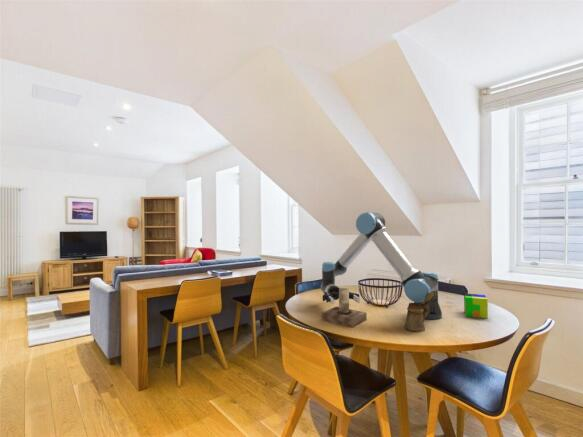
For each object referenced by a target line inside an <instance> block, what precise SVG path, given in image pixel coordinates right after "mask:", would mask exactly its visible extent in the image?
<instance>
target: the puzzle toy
mask: <svg viewBox="0 0 583 437" xmlns="http://www.w3.org/2000/svg"><path fill="white" fill-rule="evenodd" d="M463 296H464V297H463V301H464V305H463V307H464V308H463V309H464V311H463V312H464V314H465V316H466V317H470V316H471V317H472V318H480V317H481V318H482V319H488V318H489V317H488V316H489V314H488V312H489V310H488V308H489V307H488V305H489V304H488V297H487V296H486V295H485V294H475V293H463ZM481 318H480V319H481Z"/></svg>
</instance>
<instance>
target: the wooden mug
mask: <svg viewBox="0 0 583 437" xmlns="http://www.w3.org/2000/svg"><path fill="white" fill-rule="evenodd" d="M435 295H436V292H435V291H432V292H430V293H428V294H427V295H426V297H425V299H424V303H421V304H418V303H414V302H409V303H408V306H407V308H406V309H407V313H406V318H405V322H404V328H405V329H406V330H408V331H412V332H420V333H421V332H424V331H425V329H426V327H425V320H426V319H425V318H426V316H427V315H428V313H429V305H428V303H430V302H431V301H432V300H433V299H434V297H435ZM423 308H425V313H423V312H424V310H423Z"/></svg>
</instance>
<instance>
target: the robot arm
mask: <svg viewBox="0 0 583 437" xmlns="http://www.w3.org/2000/svg"><path fill="white" fill-rule="evenodd" d="M355 227H356V230H357V231H358V232H359V233H360V234H359V235H358V236H357V237H356V238H355V239H354V240H353V241H352V243H351V244H350V245H349V247H348V248H347V249H345V251H344V253H342V255H340V257H339V258H338V260H336V262H333V261H324V262H323V263H322V266H321V267H322V268H321V275H322V276H321V277H322V281H321V285H320V289H321V291H322V293H323V295H322V301H323V302H326V303H330V304H331V305H335V301H337V300H339V288H340V287H338V286H337V285H336V283H335V282H336V277H337V276H343V275H344V274H346V272H347V271H348V268H349V267H350V265H351V264H353V262H354V261H355V260H356V259H357V258H358V256H359V255H360V254H362V251H364V250H365V248H366V247H367V246H368V245H369V243H370V242H373V243H374V244H375V246H376V248H377V249H378V251H379V252H380V253H381V254H382V255H383V257H384V258H385V259H386V261H387V263H389V265H390V266H391V267H392V269H393V270H394V272H395V273H396V274H397V275H398V277H399V278H400V284H401V286H402V287H403V289H404V291H403V292H404V294H405V296H406V297H407V298H408V299H409V300H410V301H412V303H418V304H421V303H424V299H425V297H426V295H427V294H428V293H430V292H432V291H435V292H436V295H435V297H434V299H433V300H432V301H431V302H430V303H428V305H429V313H428V315H427V316H426V318H425V320H439V319H442V318H443V311H442V308H441V306H440V302H439V276H438V274H437V273H435V272H427V271H425V272H424V271H423V272H422V271H421V270H420V269H417V268H415V267H414V266H413V265H412V264H411V262H410V261H409V260H408V259H407V257H406V255H405V254H404V253H403V252H402V251H401V249H400V248H399V247H398V245H397V244H396V243H395V241H393V239H392V238H391V237H390V235H389V233H387V227H386V219H385V217H384V216H383V215H382V214H381V213H379V212H369V211H367V212H366V211H365V212H362V213H360V214H359V215H358V216H357V218H356V220H355ZM360 299H361V298H360V294H359V293H356V292H350V291H349V300H353V301H354V302H356V303H357V304H360V301H361V300H360ZM423 310H424V312H423V313H425V308H423Z"/></svg>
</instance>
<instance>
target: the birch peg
mask: <svg viewBox="0 0 583 437" xmlns="http://www.w3.org/2000/svg"><path fill="white" fill-rule="evenodd" d="M349 292H350V290H349V288H347V287H339V299H338V302H339V303H338V307H339V314H344V315H348V314H349V309H350V299H349Z"/></svg>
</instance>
